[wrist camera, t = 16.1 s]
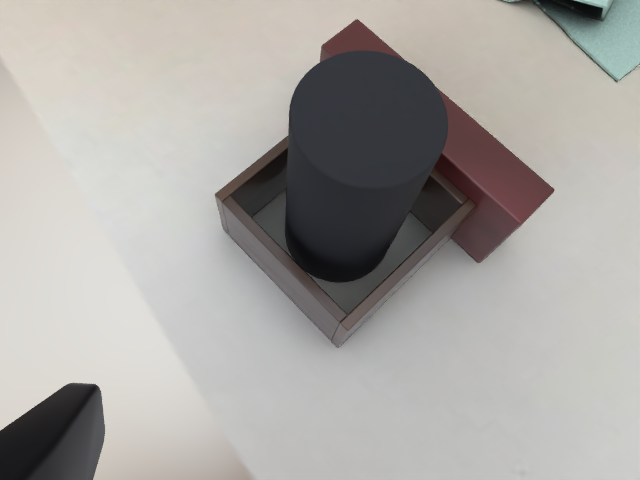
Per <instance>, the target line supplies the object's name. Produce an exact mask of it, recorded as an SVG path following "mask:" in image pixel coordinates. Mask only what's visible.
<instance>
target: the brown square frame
mask: <svg viewBox="0 0 640 480" xmlns="http://www.w3.org/2000/svg"><path fill="white" fill-rule="evenodd" d="M363 50H367V51H377V52H382V53H387V54H390V55H393V56H396V57H398V58H401V59H403V58H402V57H401V56H400V55H398V54H397V53H396V52H395V51H394V50H393V49H392V48H390V47H389V46H388V45H387V44H386V43H385V42H383V41H382V40H381V39H380V38H379V37H378V36H376V35H375V34H374V33H373V32H372V31H371V30H370V29H368V28H367V27H366V26H365V25H364V24H363V23H361V22H360V21H359V20H358V19H357V20H355V21H354V22H352V23H351V24H350V25H348V26H347V27H346V28H344V29H343V30H342V31H340V32H339V33H338V34H336V35H335V36H334V37H332V38H331V39H330V40H329V41H327V42H326V43H325V44H323V45H322V47H321V56H320V62H322V61H323V60H325V59H327V58H329V57H332V56H334V55H337V54H341V53H345V52H350V51H363ZM403 60H404V59H403ZM436 88H437V87H436ZM437 90H438V91H439V93H440V95H441V97H442V99H443V101H444V104H445V107H446V111H447V117H448V135H447V140H446V143H445V147H444V149H443V151H442V153H441V155H440V157H439V159H438V161H437V162H436V164H435V166H434V168H433V170H432V171H431V173H430V175H429V177H428V179H427V180H426V182H425V184H424V186H423V188H422V189H421V191H420V193H419V195H418V197H417V198H416V200H415V202H414V204H413V206H412V207H411V209H410V211H411V212H412V213H413V214H414V215H415V216H416V217H417V218H418V219H419V220H420V221H421V222H422V223H423V224H424V225H425V226H427V227H428V228H429V229H430V230H431V231H432V232H433V233H432V234H431V235H430V236H429V237H428V238H427V239H426V240H425V241H424V242H423V243H422V244H421V245H420V246H419V247H418V248H417V249H416V250H415V251H414V252H413V253H412V254H411V255H410V256H409V257H408V258H407V259H406V260H404V261H403V262H402V263H401V264H400V265H399V266H398V267H397V268H396V269H395V270H394V271H393V272H392V273H391V274H390V275H389V276H388V277H387V278H386V279H385V280H384V281H383V282H382V283H381V284H380V285H379V286H378V287H376V288H375V289H374V290H373V291H372V292H371V293H370V294H369V295H368V296H367V297H366V298H365V299H364V300H363V301H362V302H361V303H360V304H359V305H358V306H357V307H356V308H355V309H354V310H353V311H352V312H351V313H349V314H348V315H347V314H346V313H345V312H344V311H343V310H342V309H341V308H340V307H339V306H338V305H337V304H336V303H335V302H334V301H333V300H332V299H331V297H330V296H329V295H328V294H327V293H326V292H325V291H324V290H323V289H322V288H321V287H320V286H319V285H318V284H317V283H316V282H315V281H314V280H313V279H312V278H311V277H310V276H309V275H308V274H307V273H306V272H305V271H304V270H303V269H302V268H301V267H300V266H299V265H298V264H297V263H296V262H295V261H294V260H293V259H292V258H291V257H290V256H289V255H288V254H287V253H286V252H285V251H284V250H283V249H282V248H281V247H280V246H279V245H278V244H277V243H276V242H275V241H274V240H273V239H272V238H271V237H270V236H269V235H268V233H267V232H266V231H265V230H264V229H263V228H262V227H261V226H260V225H259V224H258V223H257V222H256V221H255V220H254V219H253V218H252V216H253V215H254V214H256V213H257V212H258V211H259V210H260V209H261V208H263V207H264V206H265V205H266V204H267V203H269V202H270V201H271V200H272V199H273V198H275V197H276V196H277V195H278V194H279V193H281V192H282V191H283V190H284V189H285V188H287V164H288V136H287V137H286V138H284V139H283V140H282V141H281V142H280V143H278V144H277V145H276V146H275V147H273V148H272V149H271V150H270V151H268V152H267V153H266V154H265V155H263V156H262V157H261V158H260V159H258V160H257V161H256V162H255V163H253V164H252V165H251V166H250V167H248V168H247V169H246V170H245V171H243V172H242V173H241V174H240V175H238V176H237V177H236V178H235V179H233V180H232V181H231V182H230V183H228V184H227V185H226V186H225V187H223V188H222V189H221V190H220V191H218V192H217V193H216V194H215V198H216V202H217V206H218V210H219V214H220V218H221V222H222V226H223V229H224V231H225V232H226V233H227V234H228V235H230V237H231V238H232V239H233V240H234V241H235V242H236V243H237V244H238V245H239V246H240V247H241V248H242V249H243V250H244V251H245V252H246V253H247V255H248V256H249V257H250V258H251V259H252V260H253V261H254V262H255V263H256V264H257V265H258V266H259V267H260V268H261V269H262V270H263V271H264V272H265V273H266V274H267V275H268V276H269V277H270V278H271V279H272V280H273V281H274V283H275V284H276V285H277V286H278V287H279V288H280V289H281V290H282V291H283V292H284V293H285V294H286V295H287V296H288V297H289V298H290V299H291V300H292V301H293V302H294V303H295V304H296V305H297V306H298V307H299V308H300V309H301V311H302V312H303V313H304V314H305V315H306V316H307V317H308V318H309V319H310V320H311V321H312V322H313V323H314V324H315V325H316V326H317V327H318V328H319V329H320V330H321V331H322V332H323V333H324V334H325V335H326V336H327V337H328V339H329V340H331V341H332V343H333V344H334V345H335V346H336V347H337V348H338V347H340V346H341V345H342V344H343V343H344V342H345V341H346V340H347V339H348V338H349V337H350V336H351V335H352V334H353V333H354V332H355V331H356V330H357V329H358V328H359V327H360V326H361V325H362V324H363V323H364V322H365V321H366V320H367V319H368V318H369V317H370V316H371V315H372V314H373V313H374V312H375V311H376V310H377V309H378V308H379V307H380V306H381V305H382V304H384V303H385V302H386V301H387V300H388V299H389V298H390V297H391V296H392V295H393V294H394V293H395V292H396V291H397V290H398V289H399V288H400V287H401V286H402V285H403V284H404V283H405V282H406V281H407V280H408V279H409V278H410V277H411V276H412V275H413V274H414V273H415V272H416V271H417V270H418V269H419V268H420V267H421V266H422V265H423V264H424V263H425V262H426V261H427V260H428V259H429V258H430V257H431V256H432V255H433V254H435V253H436V252H437V251H438V250H439V249H440V248H441V247H442V246H443V245H444V244H445V243H446V242H447V241H448V240H449V239H450V238H452V239H454V240H455V241H456V242H457V243H458V244H459V245H460V246H461V247H462V248H463V249H464V250H465V251H466V252H468V253H469V254H470V255H471V256H472V257H473V258H474V259H475V260H476V261H477V262H479V263H480V262H481V261H483V260H484V259H485V258H486V257H487V256H488V255H489V254H490V253H491V252H492V251H494V250H495V249H496V248H497V247H498V246H499V245H500V244H501V243H502V242H503V241H504V240H506V239H507V238H508V237H509V236H510V235H511V234H512V233H513V232H514V231H515V230H517V229H518V228H519V227H520V226H521V225H522V224H523V223H524V222H525V221H526V220H527V219H528V218H529V217H530V216H531V215H532V214H533V213H534V212H535V211H536V210H537V209H538V208H539V207H540V206H541V205H542V203H543V202H544V201H545V200H546V199H547V198H548V197H549V196H550V195H551V194H552V193H553V192H554V189H553V188H552V187H551V186H550V185H549V184H548V183H546V182H545V181H544V180H543V179H542V178H541V177H539V176H538V175H537V174H536V173H535V172H534V171H533V170H531V169H530V168H529V167H528V166H527V165H526V164H524V163H523V162H522V161H521V160H520V159H519V158H518V157H516V156H515V155H514V154H513V153H512V152H511V151H509V150H508V149H507V148H506V147H505V146H504V145H502V144H501V143H500V142H499V141H498V140H497V139H496V138H494V137H493V136H492V135H491V134H490V133H489V132H487V131H486V130H485V129H484V128H483V127H482V126H481V125H479V124H478V123H477V122H476V121H475V120H474V119H472V118H471V117H470V116H469V115H468V114H467V113H465V112H464V111H463V110H462V109H461V108H460V107H459V106H457V105H456V104H455V103H454V102H453V101H452V100H450V99H449V98H448V97H447V96H446V95H445V94H444V93H442V92H441V91H440V90H439V89H438V88H437Z"/></svg>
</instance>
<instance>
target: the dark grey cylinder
mask: <svg viewBox="0 0 640 480" xmlns="http://www.w3.org/2000/svg"><path fill="white" fill-rule="evenodd" d="M447 135H448V117H447V111H446V107H445V104H444V101H443V99H442V97H441V95H440V93H439V91H438V90H437V88H436V87H435V85H434V84H433V83H432V81H431V80H430V79H429V78H428V77H427V76H426V75H425V74H424V73H423V72H422V71H421V70H419V69H418V68H416V67H415V66H414V65H412V64H410V63H409V62H407V61H405V60H403V59H401V58H398V57H396V56H393V55H390V54H387V53H382V52H377V51H367V50H363V51H350V52H345V53H341V54H337V55H334V56H332V57H329V58H327V59H325V60H323V61H322V62H320V63H318V64H317V65H316V66H314V67H313V68H312V69H311V70H310V71H309V72H308V73H306V75H305V76H304V77H303V78H302V79H301V81H300V82H299V84H298V86H297V87H296V89H295V91H294V94H293V96H292V100H291V104H290V111H289V135H288V164H287V193H286V222H285V235H286V242H287V245H288V248H289V251H290V252H291V254H292V256H293V258H294V259H295V261H296V262H297V263H298V264H299V265H300V266H301V267H302V268H303V269H304V270H305V271H307V272H308V273H310V274H312V275H313V276H316V277H318V278H320V279H323V280H327V281H333V282H346V281H351V280H355V279H358V278H361V277H363V276H365V275H367V274H368V273H370V272H371V271H372V270H373V269H375V268H376V267H377V266H378V264H379V263H380V262H381V261H382V259H383V257H384V256H385V254H386V252H387V250H388V249H389V247H390V245H391V243H392V241H393V240H394V238H395V236H396V234H397V232H398V231H399V229H400V227H401V225H402V223H403V222H404V220H405V218H406V216H407V215H408V213H409V211H410V209H411V207H412V206H413V204H414V202H415V200H416V198H417V197H418V195H419V193H420V191H421V189H422V188H423V186H424V184H425V182H426V180H427V179H428V177H429V175H430V173H431V171H432V170H433V168H434V166H435V164H436V162H437V161H438V159H439V157H440V155H441V153H442V151H443V149H444V147H445V143H446V140H447Z"/></svg>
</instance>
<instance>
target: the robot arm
mask: <svg viewBox="0 0 640 480" xmlns="http://www.w3.org/2000/svg"><path fill="white" fill-rule="evenodd" d="M104 434H105V424H104V416H103V406H102V396H101V391H100V388H99V387H98V386H97V385H96V384H83V383H70V384H67V385H66V386H64V387H63V388H61V389H60V390H58V391H57V392H55V393H54V394H53V395H51V396H49V397H48V398H47V399H45V400H44V401H42V402H41V403H40V404H38V405H37V406H35V407H34V408H32V409H31V410H29V411H28V412H27V413H25V414H24V415H22V416H21V417H19V418H18V419H16V420H15V421H14V422H12V423H11V424H9V425H8V426H6V427H5V428H4V429H2V430H1V431H0V480H93V477H94V474H95V470H96V467H97V464H98V460H99V457H100V453H101V450H102V446H103V442H104V436H105V435H104Z"/></svg>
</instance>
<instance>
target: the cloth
mask: <svg viewBox="0 0 640 480" xmlns="http://www.w3.org/2000/svg"><path fill="white" fill-rule="evenodd" d="M504 1H507V2H514V1H520V0H504ZM533 1H534V2H535V3H536V4H537V5H538V6H539V7H540V8H541V9H542V10H543V11H544V12H545V13H546V14H547V15H549V16H550V17H551V18H552V19H553V20H554V21H556V22H557V23H558V24H559V25H560V26H561V27H562V28H563V29H564V31H565V32H566V33H567V34H568V35H569V37H570V38H571V39H572V40H573V41H574V42H575V43H576V44H577V45H578V46H580V47H581V48H582V49H583V50H584V51H585V52H586V53H587V54H588V55H589V56H590V57H591V58H592V59H593V60H594V61H595V62H596V63H598V64H599V65H600V66H601V67H602V68H603V69H604V70H605V71H606V72H607V73H609V74H610V75H611V76H612V77H613V78H614V79H615V80H616V81H617V82H618V81H619V80H620V79H621V78H623V77H624V76H625V75H626V74H627V73H629V72H630V71H631V70H632V69H634V68H635V67H636V66H637V65H639V64H640V0H533Z"/></svg>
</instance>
